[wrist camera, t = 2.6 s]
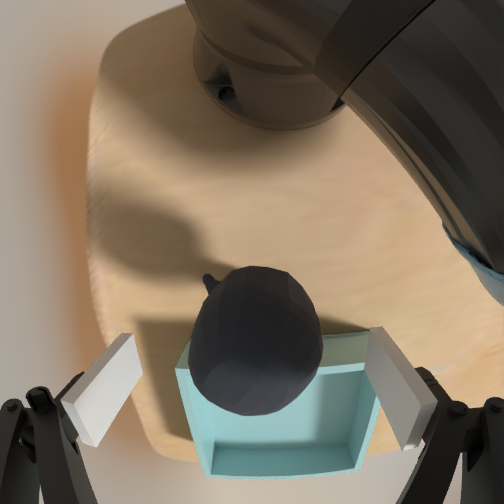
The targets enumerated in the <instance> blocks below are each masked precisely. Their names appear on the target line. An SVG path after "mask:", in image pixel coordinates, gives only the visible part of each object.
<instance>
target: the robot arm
mask: <svg viewBox="0 0 504 504" xmlns="http://www.w3.org/2000/svg"><path fill="white" fill-rule="evenodd" d="M185 2H186V4H187V5H188V7H189V9H190V11H191V13H192V15H193V17H194V19H195V21H196V23H197V28H196V33H195V39H194V45H193V60H194V66H195V70H196V73H197V76H198V78H199V80H200V82H201V84H202V85H203V87H204V88H205V90H206V91H207V93H208V94H209V96H210V97H211V98H212V100H213V101H214V102H215V103H216V104H217V105H218V106H219V107H220V108H221V109H223V110H224V111H225V112H227V113H228V114H230V115H231V116H233V117H235V118H236V119H239V120H241V121H243V122H245V123H248V124H251V125H253V126H257V127H261V128H266V129H273V130H295V129H302V128H307V127H311V126H314V125H317V124H320V123H322V122H324V121H326V120H328V119H330V118H332V117H333V116H335V115H336V114H337V113H339V112H340V111H341V110H342V109H343V108H344V107H345V106H346V105H348V106H349V107H350V108H351V109H352V110H353V111H354V112H355V113H356V114H357V115H358V116H359V117H360V119H361V120H362V121H363V122H364V123H365V124H366V125H367V126H368V127H369V128H370V129H371V130H372V131H373V132H374V133H375V135H376V136H377V137H378V138H379V139H380V140H381V141H382V142H383V143H384V145H385V146H386V147H387V148H388V149H389V150H390V152H391V153H392V154H393V155H394V156H395V157H396V159H397V160H398V161H399V162H400V164H401V165H402V166H403V167H404V169H405V170H406V171H407V172H408V174H409V175H410V176H411V177H412V179H413V180H414V181H415V183H416V184H417V185H418V187H419V188H420V189H421V191H422V192H423V193H424V195H425V196H426V198H427V199H428V200H429V202H430V203H431V205H432V206H433V208H434V209H435V210H436V212H437V213H438V215H439V216H440V218H441V219H442V226H443V228H444V230H445V232H446V235H447V236H448V238H449V239H450V241H451V242H452V243H453V245H454V247H455V248H456V249H457V250H458V252H459V253H460V254H461V255H462V256H463V257H464V258H465V259H466V260H467V261H468V262H469V263H470V265H471V266H472V268H473V270H474V271H475V273H476V274H477V276H478V278H479V280H480V281H481V283H482V284H483V286H484V287H485V289H486V290H487V291H488V292H489V293H490V295H491V296H492V297H493V298H494V299H495V300H496V301H498V302H499V303H500V304H501V305H502V306H504V0H185ZM364 371H365V373H366V375H367V377H368V379H369V381H370V383H371V385H372V387H373V389H374V391H375V393H376V395H377V397H378V399H379V401H380V404H381V406H382V408H383V410H384V412H385V414H386V416H387V418H388V421H389V423H390V425H391V427H392V429H393V431H394V434H395V436H396V438H397V440H398V442H399V445H400V447H401V449H402V451H405V450H409V449H412V448H415V447H418V446H419V444H420V442H421V439H422V438H423V440H424V442H425V446H424V448H423V450H422V452H421V454H420V456H419V457H418V461H417V464H416V466H415V468H414V470H413V472H412V474H411V476H410V478H409V480H408V482H407V484H406V486H405V488H404V489H403V491H402V493H401V495H400V497H399V499H398V500H397V502H396V504H443V501H444V499H445V496H446V494H447V491H448V489H449V486H450V483H451V481H452V478H453V474H454V472H455V469H456V465H457V462H458V459H459V456H460V453H461V452H462V453H463V455H462V459H463V463H462V490H461V502H460V504H504V399H502V398H499V397H492V398H489V399H487V400H486V402H485V404H484V406H483V407H480V408H468V406H467V405H466V404H464V403H463V402H460V401H452V399H451V398H450V397H449V396H448V394H447V393H446V392H445V390H444V389H443V388H442V386H441V385H440V384H439V383H438V381H437V380H436V379H435V377H434V376H433V375H432V374H431V372H430V371H428V370H426V369H425V368H423V367H418V368H414V367H413V366H412V365H411V363H410V362H409V361H408V359H407V358H406V357H405V355H404V354H403V353H402V351H401V350H400V349H399V347H398V346H397V345H396V344H395V342H394V341H393V340H392V338H391V337H390V336H389V335H388V333H387V332H386V331H385V329H384V328H383V327H374V328H370V329H369V337H368V344H367V352H366V358H365V365H364ZM142 374H143V370H142V367H141V363H140V359H139V356H138V352H137V348H136V344H135V340H134V335H133V334H132V333H121V334H120V335H119V336H118V337H117V338H116V339H115V341H114V342H113V343H112V344H111V345H110V346H109V347H108V348H107V349H106V350H105V351H104V352H103V353H102V354H101V356H100V357H99V358H98V359H97V360H96V361H95V362H94V363H93V364H92V365H91V366H90V368H89V369H88V370H87V371H86V372H81V373H80V374H78V375H76V376H75V377H74V378H73V379H72V380H71V381H70V383H68V384H67V385H66V387H65V388H64V389H63V390H62V391H61V392H60V393H59V394H58V395H57V396H56V398H55V399H53V397H52V395H51V393H50V391H49V389H48V388H46V387H43V386H39V387H35V388H33V389H31V390H29V391H28V392H27V394H26V399H27V401H28V403H29V405H30V407H31V408H24V406H23V404H22V402H21V401H20V400H19V399H10V400H7V401H6V402H5V403H4V404H3V405H2V407H1V410H0V504H39V489H40V485H41V491H42V495H43V500H44V504H98V503H97V500H96V498H95V495H94V492H93V490H92V487H91V484H90V482H89V478H88V475H87V473H86V469H85V466H84V463H83V460H82V456H81V453H80V449H79V446H78V444H77V442H76V438H77V437H78V435H79V436H80V438H81V440H82V441H83V443H84V444H87V445H90V446H94V447H97V446H98V444H99V443H100V441H101V439H102V438H103V436H104V434H105V433H106V431H107V429H108V428H109V426H110V424H111V423H112V421H113V420H114V418H115V416H116V415H117V413H118V412H119V410H120V408H121V407H122V405H123V404H124V402H125V400H126V399H127V397H128V396H129V394H130V392H131V391H132V389H133V388H134V386H135V385H136V383H137V381H138V380H139V378H140V377H141V375H142ZM19 439H20V442H19Z"/></svg>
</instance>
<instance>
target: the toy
mask: <svg viewBox="0 0 504 504" xmlns="http://www.w3.org/2000/svg"><path fill="white" fill-rule="evenodd" d="M203 282H204V284H205V286H206V289H207V291H208V294H209V296H208V297H207V298H206V300H205V301H204V302H203V305H202V307H201V310H200V312H199V315H198V317H197V320H196V323H195V326H194V329H193V333H192V337H191V341H190V347H189V355H188V366H189V370H190V374H191V377H192V380H193V383H194V385H195V387H196V388H197V389H198V391H199V392H200V393H201V394H202V395H203V396H204V397H205V398H206V399H207V400H208V401H210V402H211V403H213V404H215V405H216V406H218V407H220V408H222V409H224V410H226V411H229V412H232V413H235V414H238V415H241V416H259V415H268V414H271V413H274V412H277V411H279V410H281V409H283V408H284V407H286V406H287V405H288V404H290V403H291V402H292V401H294V400H295V399H296V398H297V397H298V396H299V395H300V394H301V393H302V392H303V391H304V390H305V389H306V387H307V386H308V385H309V384H310V382H311V381H312V380H313V378H314V377H315V376H316V373H317V370H318V367H319V365H320V362H321V359H322V353H323V341H322V335H321V330H320V323H319V319H318V317H317V314H316V312H315V309H314V305H313V303H312V301H311V299H310V298H309V296H308V295H307V293H306V292H305V290H304V289H303V287H302V286H301V285H300V284H299V283H298V282H297V281H296V280H295V279H294V278H293V277H292V276H291V275H290V274H289V273H288V272H284V271H281V270H277V269H273V268H269V267H260V266H247V267H244V268H240V269H237V270H233V271H232V272H230V273H229V274H228V275H227V276H226V277H225V278H224V279H223V280H222V281H221V282H220V281H216V280H215V279H214V278H213V276H212V275H210V274H205V275H204V276H203Z"/></svg>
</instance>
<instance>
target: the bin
mask: <svg viewBox="0 0 504 504" xmlns="http://www.w3.org/2000/svg"><path fill="white" fill-rule="evenodd" d="M368 337H369V331H361V332H352V333H341V334H329V335H322V341H323V353H322V359H321V362H320V365H319V367H318V370H317V373H316V376H315V377H314V378H313V380H312V381H311V382H310V384H309V385H308V386H307V387H306V389H305V390H304V391H303V392H302V393H301V394H300V395H299V396H298V397H297V398H296V399H295V400H294V401H292V402H291V403H290V404H288V405H287V406H286V407H284V408H283V409H281V410H279V411H277V412H274V413H271V414H268V415H259V416H241V415H238V414H235V413H232V412H229V411H226V410H224V409H222V408H220V407H218V406H216V405H215V404H213V403H211V402H210V401H208V400H207V399H206V398H205V397H204V396H203V395H202V394H201V393H200V392H199V391H198V389H197V388H196V387H195V385H194V383H193V380H192V377H191V374H190V370H189V366H188V355H189V347H190V341H191V338H190V339H189V341H188V342H187V344H186V346H185V348H184V350H183V352H182V354H181V356H180V358H179V360H178V362H177V364H176V366H175V372H176V377H177V381H178V385H179V389H180V393H181V397H182V401H183V405H184V409H185V413H186V416H187V420H188V424H189V427H190V431H191V434H192V437H193V441H194V444H195V447H196V451H197V454H198V457H199V460H200V463H201V466H202V469H203V472H204V475H205V477H212V478H225V479H251V480H253V479H255V480H265V479H267V480H270V479H295V478H308V477H318V476H327V475H335V474H341V473H348V472H354V471H359V470H360V467H361V465H362V462H363V459H364V457H365V454H366V451H367V449H368V446H369V443H370V440H371V437H372V434H373V430H374V427H375V424H376V421H377V417H378V414H379V410H380V407H381V404H380V401H379V399H378V397H377V395H376V393H375V391H374V389H373V387H372V385H371V383H370V381H369V379H368V377H367V375H366V373H365V371H364V365H365V358H366V352H367V344H368Z"/></svg>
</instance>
